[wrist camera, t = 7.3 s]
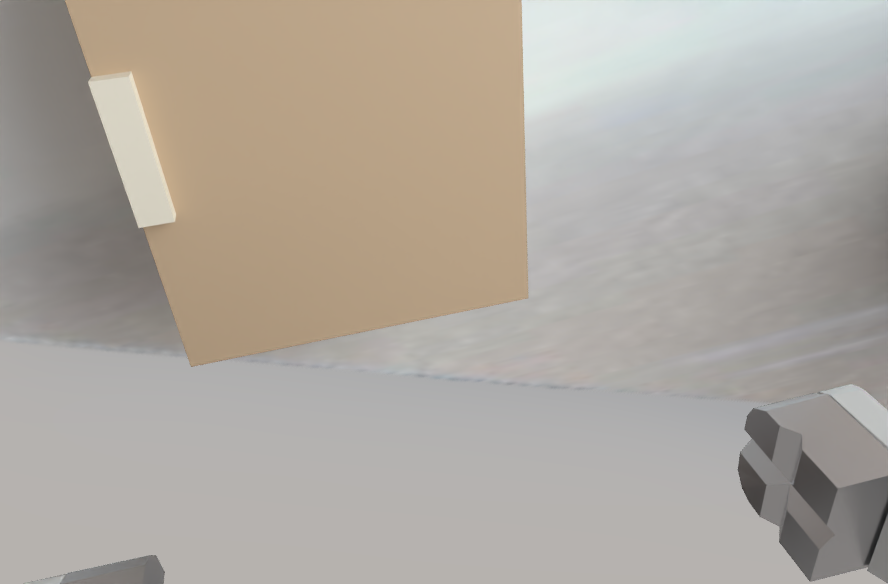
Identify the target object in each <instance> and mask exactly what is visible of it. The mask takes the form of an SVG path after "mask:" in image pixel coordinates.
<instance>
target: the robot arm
mask: <svg viewBox="0 0 888 584" xmlns="http://www.w3.org/2000/svg"><path fill="white" fill-rule="evenodd" d="M745 430H746V432H747V433H748V434H749V435H750V436H751V438H752V439H751V440H750V441H749V443H748V444H747V445H746V446H745V447H744V449H743V450H742V451H741V452H740V457H739V466H738V472H739V477H740V481H741V485H742V489H743V491H744V493H745V495H746V497H747V499H748V501H749V502H750V504H751V505H752V507H753V508H754V509H755V511H756V512H757V513H758V515H759V516H760V517H762V518H764V519H766V520H768V521H770V522H772V523H774V524H776V525H778V526H779V527H780V534H779V537H780V538H779V542H780V544H781V545H782V546H783V547H784V549H785V550H786V551H787V553H788V554H789V555H790V556H791V558H792V559H793V560H794V562H795V563H796V564H797V565H798V567H799V568H800V569H801V571H802V572H803V573H804V574H805V576H806V577H807V578H808V580H809V581H815V580H819V579H823V578H827V577H830V576H835V575H839V574H843V573H846V572H850V571H854V570H858V569H862V568H866V567H868V569H867V571H869V572H870V573H872V574H873V575H875V576H877V577H878V578H880V579H882V580H883V581H885V582H887V583H888V410H887V409H886V408H885V407H883V406H882V405H881V404H880V403H879V402H878V401H877V400H875V399H874V398H873V397H872V396H871V395H870V394H869V393H867V392H866V391H865V390H864V389H862V388H861V387H858V386H855V385H853V384H850V385H846V386H841V387H837V388H833V389H829V390H825V391H821V392H818V393H811V394H808V395H804V396H800V397H796V398H792V399H788V400H784V401H780V402H776V403H772V404H768V405H764V406H761V407H757V408H753V410H752V411H751V412H750V413H749V414H748V416H747V420H746V424H745ZM164 573H165V572H164V570H163V568H162V566H161V564H160V562H159V560H158V558H157V556H156V555H149V556H144V557H140V558H136V559H130V560H126V561H121V562H116V563H112V564H107V565H103V566H98V567H94V568H89V569H84V570H80V571H75V572H71V573H67V574H64V575H59V576H55V577H50V578H45V579H41V580H37V581H32V582H28V583H24V584H163V583H164Z"/></svg>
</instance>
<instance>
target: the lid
mask: <svg viewBox="0 0 888 584" xmlns="http://www.w3.org/2000/svg"><path fill="white" fill-rule="evenodd" d="M65 2H66V5H67V8H68V11H69V14H70V17H71V20H72V23H73V26H74V28H75V31H76V34H77V37H78V40H79V43H80V46H81V49H82V52H83V55H84V57H85V60H86V63H87V66H88V69H89V72H90V75H91V78H90V80H89V81H88V84H89V87H90V90H91V93H92V96H93V98H94V101H95V104H96V107H97V110H98V113H99V116H100V119H101V121H102V124H103V127H104V130H105V133H106V136H107V139H108V141H109V144H110V147H111V150H112V153H113V156H114V159H115V162H116V164H117V167H118V170H119V173H120V176H121V179H122V182H123V185H124V187H125V190H126V193H127V196H128V199H129V202H130V205H131V207H132V210H133V213H134V216H135V219H136V222H137V225H138V228H142V227H143V229H144V232H145V234H146V237H147V240H148V243H149V246H150V249H151V252H152V255H153V258H154V261H155V264H156V266H157V269H158V272H159V275H160V278H161V281H162V284H163V287H164V290H165V293H166V295H167V298H168V301H169V304H170V307H171V310H172V313H173V316H174V319H175V322H176V324H177V327H178V330H179V333H180V336H181V339H182V342H183V345H184V348H185V351H186V353H187V356H188V359H189V362H190V365H191V367H193V366H198V365H203V364H208V363H212V362H218V361H222V360H227V359H232V358H237V357H242V356H247V355H252V354H257V353H262V352H267V351H272V350H276V349H281V348H286V347H291V346H296V345H301V344H306V343H311V342H316V341H321V340H326V339H330V338H335V337H340V336H345V335H350V334H355V333H360V332H365V331H370V330H375V329H380V328H385V327H389V326H394V325H399V324H404V323H409V322H414V321H419V320H424V319H429V318H434V317H439V316H443V315H448V314H453V313H458V312H463V311H468V310H473V309H478V308H483V307H488V306H493V305H497V304H502V303H507V302H512V301H517V300H522V299H527V298H528V267H527V223H526V179H525V135H524V91H523V47H522V3H521V0H65Z"/></svg>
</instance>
